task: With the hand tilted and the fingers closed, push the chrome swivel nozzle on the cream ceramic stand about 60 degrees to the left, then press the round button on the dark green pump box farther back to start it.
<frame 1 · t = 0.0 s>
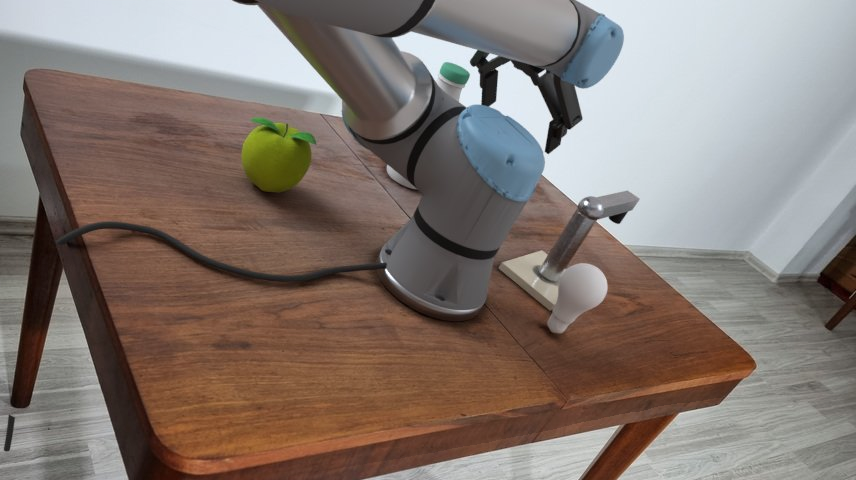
hand: (519, 125, 113), 15 cm above the table, tool tilted 35°, fingers open, 13 cm apart
lightbulb: (551, 332, 97), on the table
milk bottle: (405, 179, 120), on the table
pump box: (471, 173, 132), on the table
faucet stand: (543, 281, 108), on the table
fruit: (266, 187, 100), on the table
start button: (479, 156, 130), point 4 cm above the table, slide at 0.1 cm
spout: (590, 232, 107), point 8 cm above the table, hinge at 0.0°
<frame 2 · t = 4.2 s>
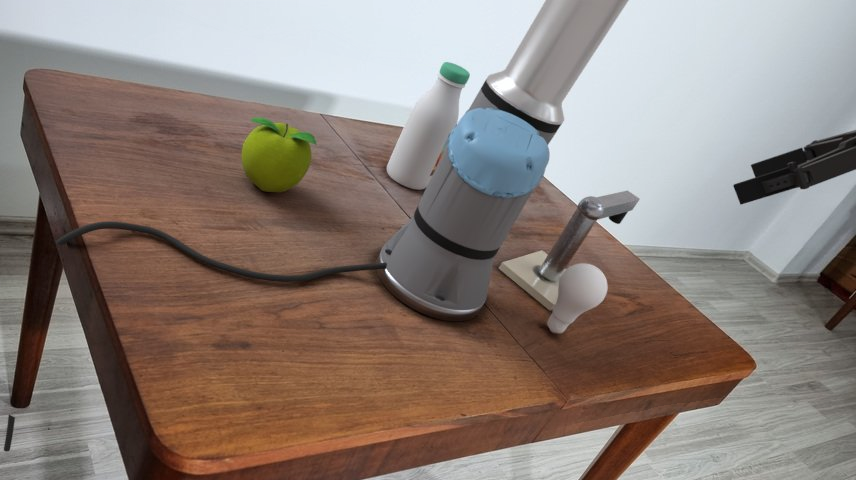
hand: (745, 183, 97), 25 cm above the table, tool tilted 35°, fingers open, 13 cm apart
nothing on the table moved.
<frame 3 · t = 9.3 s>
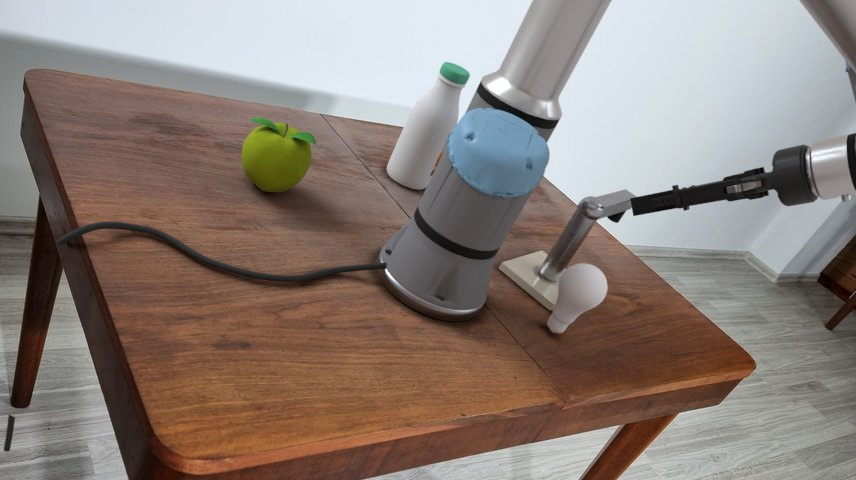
hand: (633, 206, 107), 14 cm above the table, tool tilted 45°, fingers closed
spout: (589, 231, 107), point 8 cm above the table, hinge at 1.4°, touching gripper
everything else where it was.
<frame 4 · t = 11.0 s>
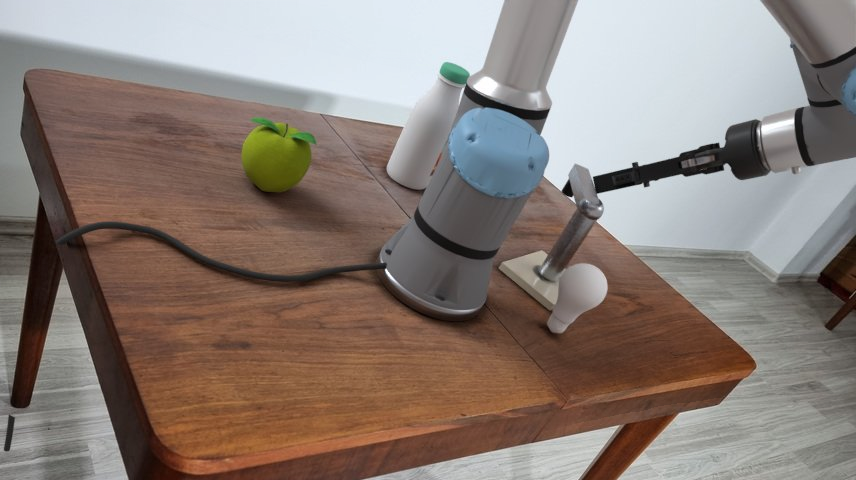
hand: (596, 184, 109), 14 cm above the table, tool tilted 45°, fingers closed
spout: (567, 219, 108), point 8 cm above the table, hinge at 37.6°, touching gripper
everything else where it was.
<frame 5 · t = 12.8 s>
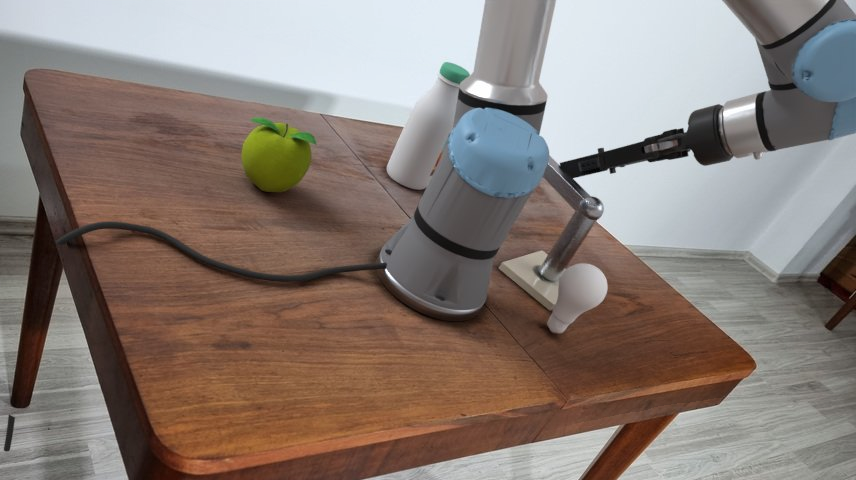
hand: (563, 171, 109), 14 cm above the table, tool tilted 45°, fingers closed
spout: (550, 214, 107), point 8 cm above the table, hinge at 66.9°, touching gripper
everything else where it was.
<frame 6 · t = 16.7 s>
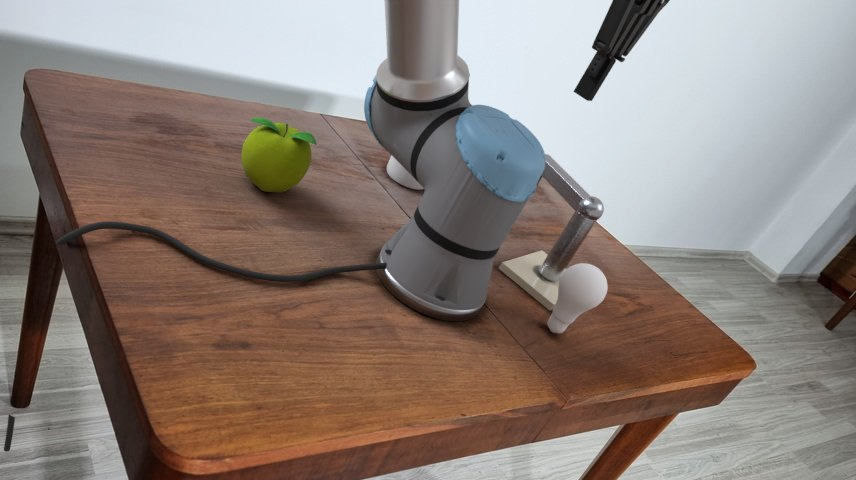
hand: (582, 96, 107), 24 cm above the table, tool pointing down, fingers closed
spout: (550, 214, 107), point 8 cm above the table, hinge at 67.0°
everything else where it was.
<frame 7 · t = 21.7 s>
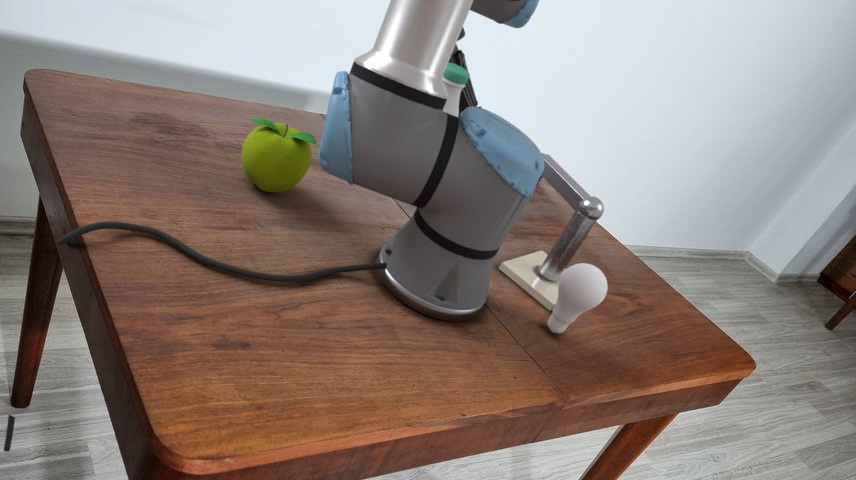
hand: (482, 149, 129), 5 cm above the table, tool tilted 45°, fingers closed
start button: (477, 160, 130), point 3 cm above the table, slide at -0.7 cm, touching gripper
everything else where it was.
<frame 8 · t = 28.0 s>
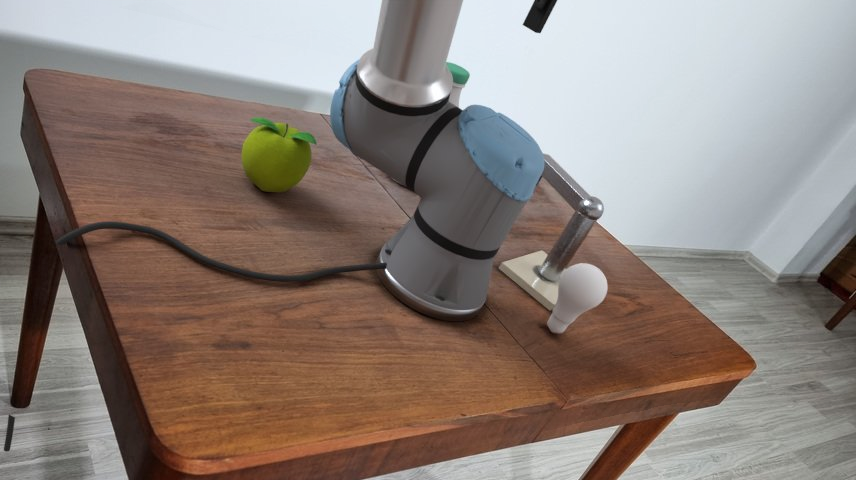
hand: (531, 28, 110), 28 cm above the table, tool pointing down, fingers closed
start button: (479, 156, 130), point 4 cm above the table, slide at 0.1 cm
everything else where it was.
at the end: spout at +67° (first picture: +0°); start button pushed in 1.5 cm at the most during the clip, back to where it started at the end; start button slide at 0.1 cm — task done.
